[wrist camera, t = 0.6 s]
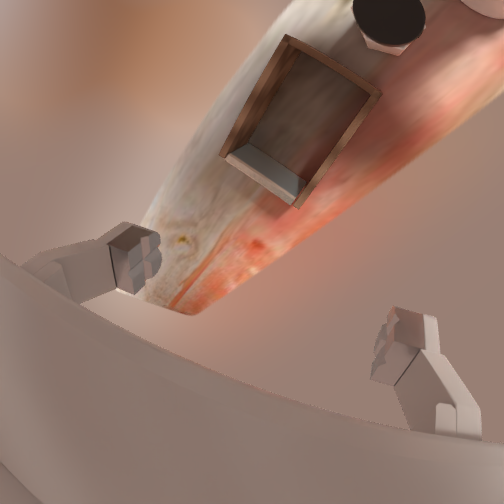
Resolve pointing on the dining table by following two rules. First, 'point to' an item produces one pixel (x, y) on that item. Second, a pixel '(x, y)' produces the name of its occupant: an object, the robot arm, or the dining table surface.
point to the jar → (389, 23)
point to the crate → (269, 87)
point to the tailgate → (267, 172)
